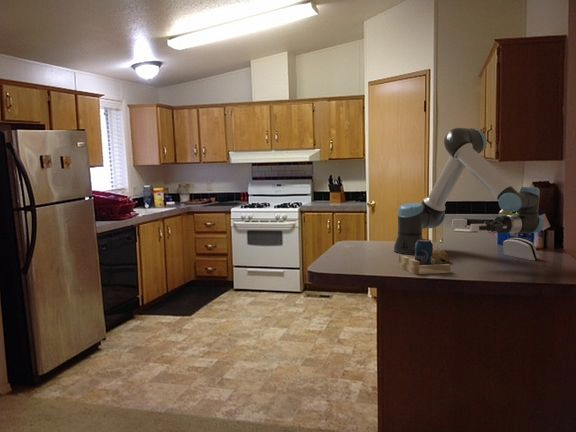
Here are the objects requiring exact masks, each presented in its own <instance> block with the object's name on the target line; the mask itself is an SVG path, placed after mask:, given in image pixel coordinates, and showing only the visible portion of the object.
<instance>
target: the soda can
mask: <svg viewBox="0 0 576 432" xmlns="http://www.w3.org/2000/svg"><path fill="white" fill-rule="evenodd" d="M433 246H434V244H433V243H432V240H431V239H427V238H424V239H418V240H417V242H416V244H415V254H414V259H415V260H417V261H419V265H432V253H433V248H434V247H433Z"/></svg>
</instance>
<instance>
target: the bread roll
mask: <svg viewBox="0 0 576 432" xmlns="http://www.w3.org/2000/svg"><path fill="white" fill-rule="evenodd" d="M432 258H433V259H435V264H447V263H448V262H449V255H448V253H447V252H446V251H445V250H444V249H443V248H439V247H433V253H432Z"/></svg>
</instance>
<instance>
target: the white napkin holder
mask: <svg viewBox="0 0 576 432" xmlns="http://www.w3.org/2000/svg"><path fill="white" fill-rule="evenodd" d="M502 248H503V255H505V256H509V257H514V258H515V257H516V258H520V259H523V260H529V261H536V260H541V256H540V255H539V254H538V252H537V249H536V245H535V244H534V243H533V242H531V241H530V240H528V239H524V238H520V237H510V238H507V239H506V240H503V242H502Z"/></svg>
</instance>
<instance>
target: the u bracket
mask: <svg viewBox="0 0 576 432" xmlns="http://www.w3.org/2000/svg"><path fill="white" fill-rule="evenodd" d="M398 268H400V269H402V270H403V271H407V272H409V273H411V274H413V275H426V274H444V273H447V274H449V273H451V264H449V263H441V264H440V263H437V264H436V263H435V259H433V258H432V265H419V261H417V260H415V258H411V257H410V256H406V255H405V254H401V255H400V254H399V255H398Z"/></svg>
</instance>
